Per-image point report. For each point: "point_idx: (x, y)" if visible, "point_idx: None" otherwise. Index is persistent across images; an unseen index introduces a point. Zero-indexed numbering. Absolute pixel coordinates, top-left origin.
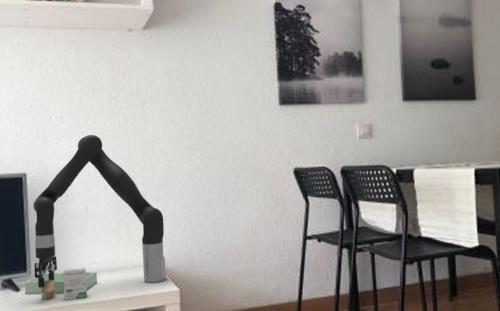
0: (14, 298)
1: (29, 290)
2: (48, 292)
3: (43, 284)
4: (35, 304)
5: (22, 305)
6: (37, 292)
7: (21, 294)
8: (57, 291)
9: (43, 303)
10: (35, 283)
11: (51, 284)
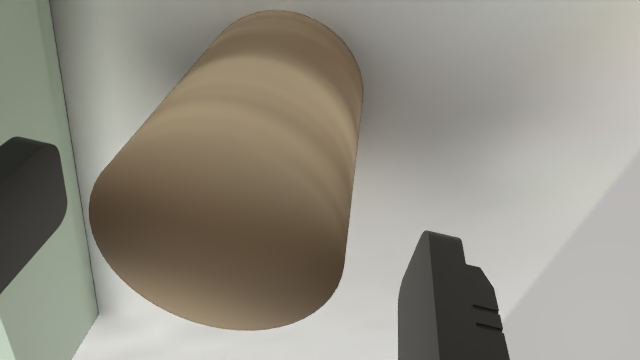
0: (226, 357)
1: (77, 314)
2: (348, 113)
3: (463, 272)
4: (528, 176)
5: (497, 280)
6: (78, 242)
7: (112, 334)
8: (37, 30)
9: (532, 93)
10: (22, 333)
11: (293, 133)
